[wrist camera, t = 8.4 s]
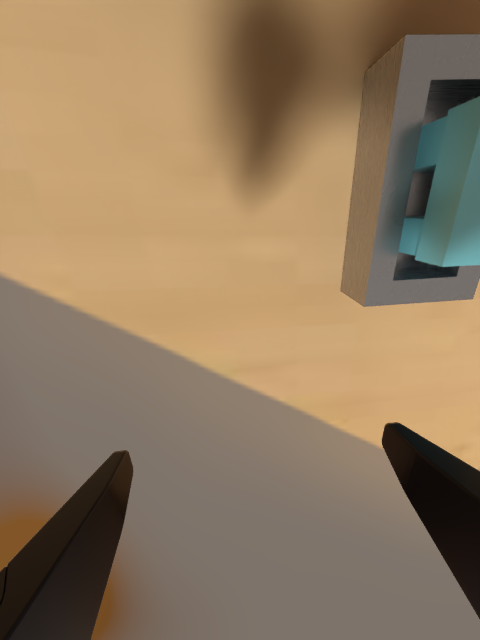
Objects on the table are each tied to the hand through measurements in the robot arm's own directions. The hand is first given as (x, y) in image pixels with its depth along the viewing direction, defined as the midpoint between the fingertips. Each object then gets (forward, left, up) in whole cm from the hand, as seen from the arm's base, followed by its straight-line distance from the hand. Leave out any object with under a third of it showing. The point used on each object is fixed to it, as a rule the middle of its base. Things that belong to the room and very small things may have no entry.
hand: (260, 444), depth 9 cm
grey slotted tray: (-8, +12, -12) cm, 19 cm away
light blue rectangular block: (-8, +12, -11) cm, 18 cm away
